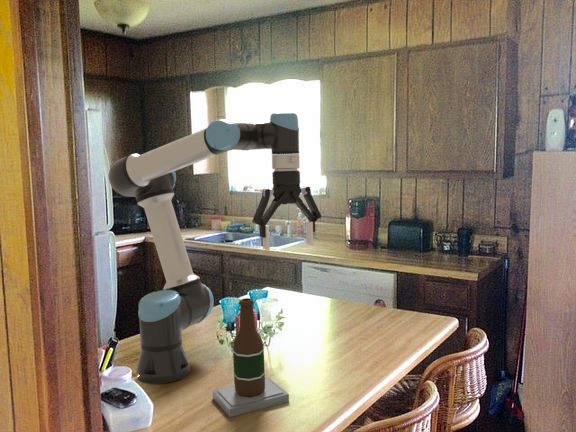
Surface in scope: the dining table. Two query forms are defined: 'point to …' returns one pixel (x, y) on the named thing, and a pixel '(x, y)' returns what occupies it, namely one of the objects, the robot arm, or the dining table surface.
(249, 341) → the beer bottle
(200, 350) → the dining table surface
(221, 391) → the slate stand
